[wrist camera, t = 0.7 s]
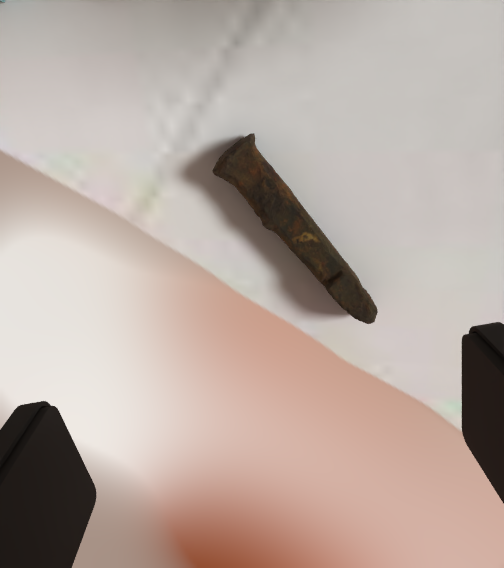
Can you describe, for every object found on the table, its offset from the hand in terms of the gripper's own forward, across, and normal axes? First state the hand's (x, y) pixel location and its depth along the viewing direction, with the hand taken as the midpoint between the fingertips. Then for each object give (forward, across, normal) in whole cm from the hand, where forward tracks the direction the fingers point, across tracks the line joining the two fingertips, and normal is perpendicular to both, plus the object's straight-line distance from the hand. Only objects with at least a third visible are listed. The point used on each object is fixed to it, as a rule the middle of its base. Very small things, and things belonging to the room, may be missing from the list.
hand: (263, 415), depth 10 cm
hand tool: (+28, -4, +5) cm, 29 cm away
